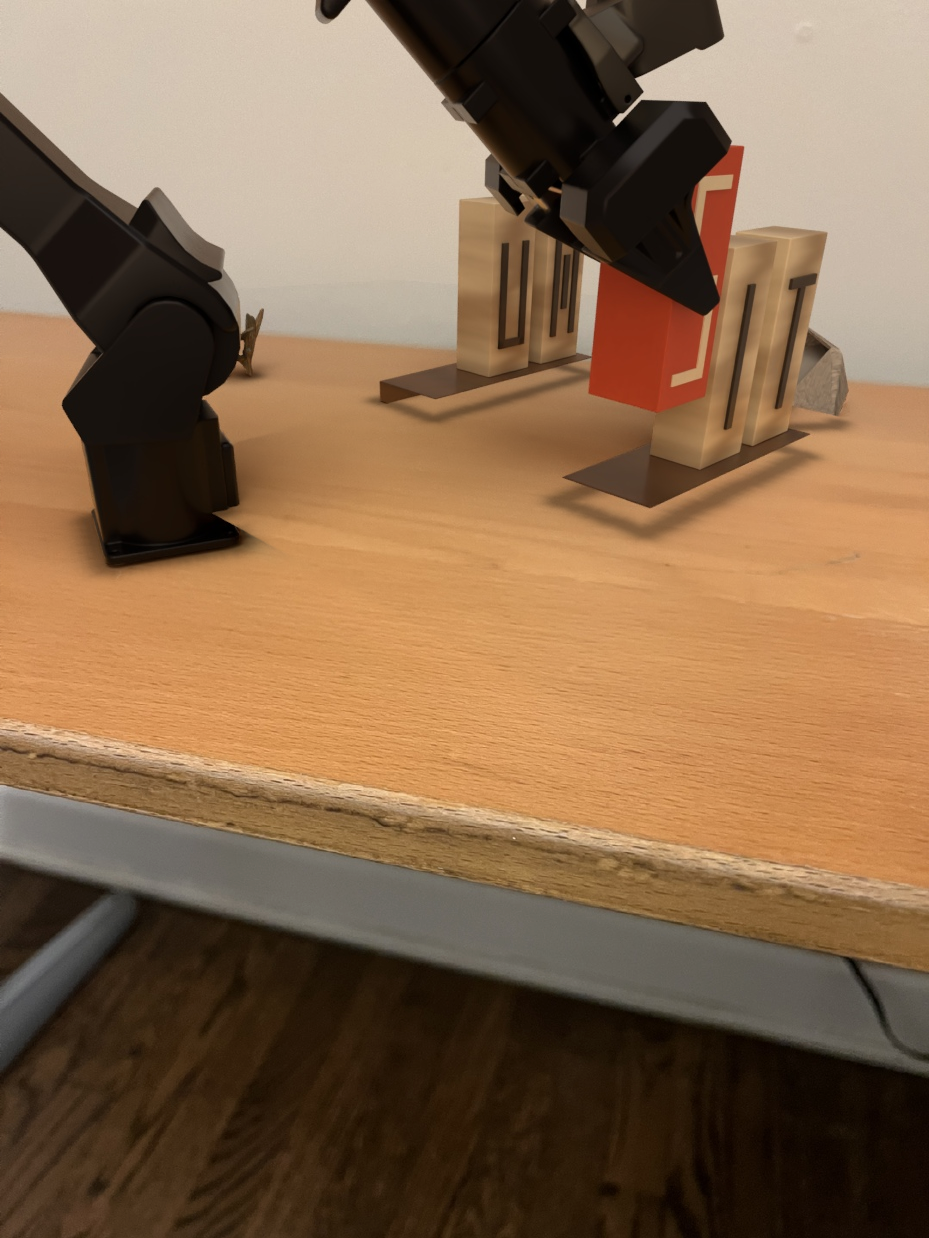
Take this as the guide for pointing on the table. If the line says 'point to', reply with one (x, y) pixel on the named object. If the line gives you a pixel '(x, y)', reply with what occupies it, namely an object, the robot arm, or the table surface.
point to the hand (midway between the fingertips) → (684, 295)
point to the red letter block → (664, 314)
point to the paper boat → (821, 376)
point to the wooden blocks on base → (504, 305)
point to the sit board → (732, 375)
